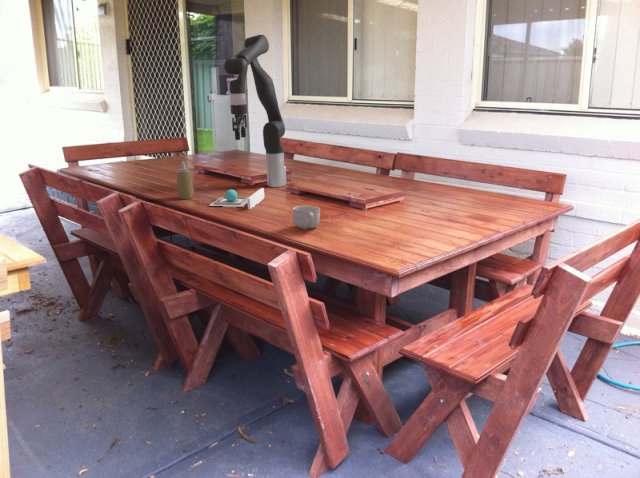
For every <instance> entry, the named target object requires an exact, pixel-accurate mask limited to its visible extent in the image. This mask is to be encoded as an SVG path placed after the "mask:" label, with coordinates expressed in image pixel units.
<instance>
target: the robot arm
mask: <svg viewBox="0 0 640 478" xmlns="http://www.w3.org/2000/svg"><path fill="white" fill-rule="evenodd" d="M268 40H269V39H268V38H267V36H265V35H264V34H256V35H254V36H250V37H247V38H245V39H244V48H242V49H241V50H240V51H239V52H238V53H237V54H235V55H232V56H230V57H227V58H226V60H225V62H224V65H223V68H224V71H225V72H226V74H228V75H234V76H235V75H238V77H237V78H236V79H233V80H230V81H229V104H230V114H231V115H234V117H231V124H232V131H233V132H234V138H235V140H236V141H240V140H241V139H242V138H246V137H247V136H246V135H247V133H246V129H247V128H248V120H247V119H248V118H247V113H248V106H247V105H248V104H247V95H246V79H247V74H248V68H249V65H250V68H251V72H252V77H253V80H254V81H253V82H254V85H255V90H256V94H257V95H256V96H257V98H258V100H259V102H260V104H261V106H262V107H263V108H264V111H265V112H266V116H267V121H268V122H266V123H265V124H264V125H263V128H262V136H263V137H262V138H263V139H262V140H263V147H264V150H265V157H266V158H265V160H266V161H265V162H266V175H267V176H266V178H267V179H266V180H267V181H266V182H267V183H266V184H267V186H268V187H271V188H280V187H284V186H286V185H287V183H288V182H287V167H286V166H285V149H284V146H282V144H281V138H282V137H284V135H285V133H286V126H285V123H284V120H283V117H282V115H281V114H282V113H281V111H280V107H279V102H278V98H277V94H276V88H275V84H274V80H273V78H272V77H271V76H270V75H269V74H268V73H267V71H266V70H265V69H264V68H263V67H262V66H261V64H260V62H259V59H258V58H259V57H260V56H262V55H264V54H267V52H268V51H269V49H270V45H269V41H268Z"/></svg>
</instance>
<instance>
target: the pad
mask: <svg viewBox="0 0 640 478" xmlns="http://www.w3.org/2000/svg"><path fill="white" fill-rule="evenodd" d="M249 197H250V196H237V198H236V200H234V201H228V200H227V199H226V197H225V196H221V197H219V198H217V199H216V200H215V201H213V202H211V203H210V204H208V207H209V206H223V207H222V208H236V207H243V208H244V207H245V205H246V204H247V205H248V201H247V198H249ZM247 205H246V206H247Z"/></svg>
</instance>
